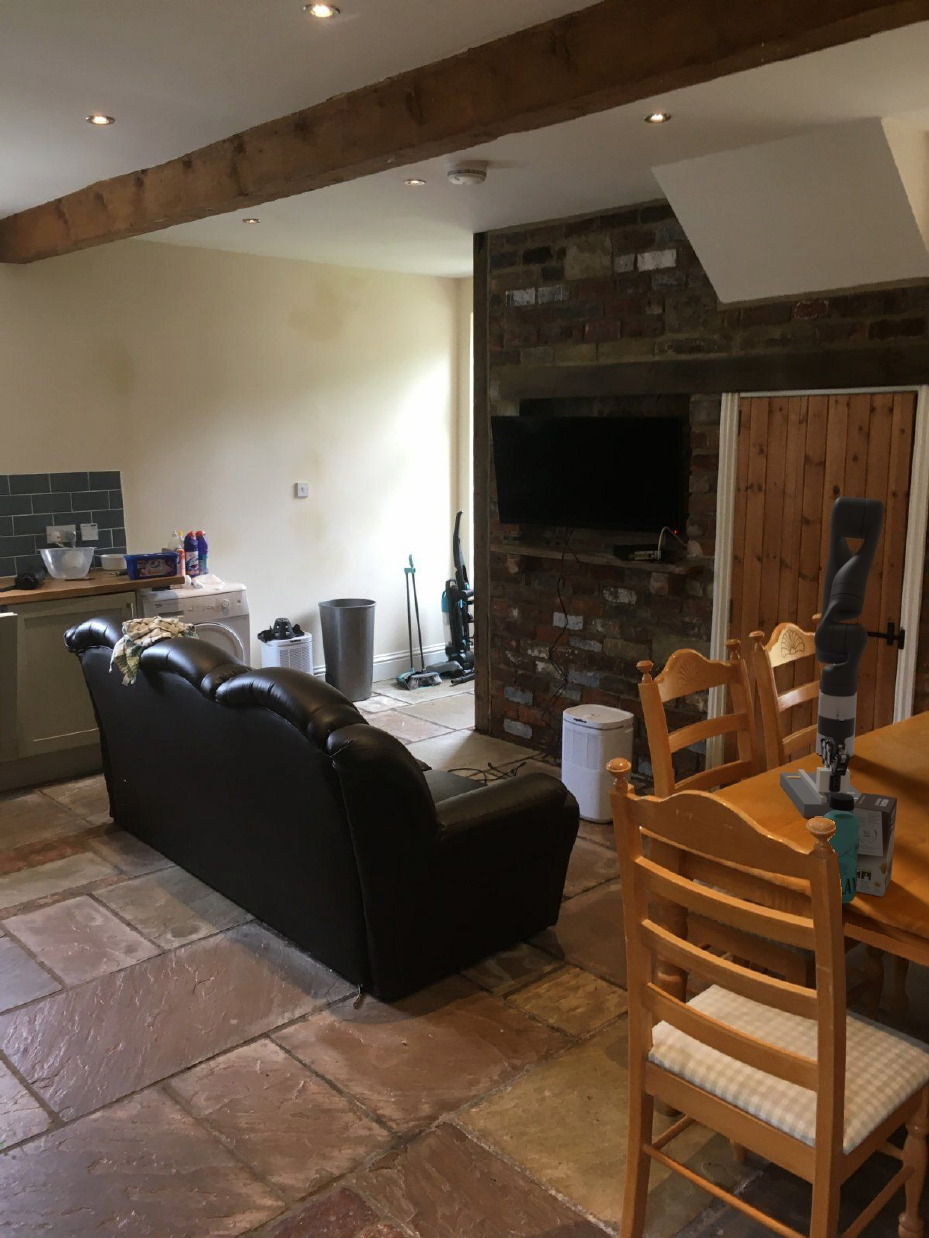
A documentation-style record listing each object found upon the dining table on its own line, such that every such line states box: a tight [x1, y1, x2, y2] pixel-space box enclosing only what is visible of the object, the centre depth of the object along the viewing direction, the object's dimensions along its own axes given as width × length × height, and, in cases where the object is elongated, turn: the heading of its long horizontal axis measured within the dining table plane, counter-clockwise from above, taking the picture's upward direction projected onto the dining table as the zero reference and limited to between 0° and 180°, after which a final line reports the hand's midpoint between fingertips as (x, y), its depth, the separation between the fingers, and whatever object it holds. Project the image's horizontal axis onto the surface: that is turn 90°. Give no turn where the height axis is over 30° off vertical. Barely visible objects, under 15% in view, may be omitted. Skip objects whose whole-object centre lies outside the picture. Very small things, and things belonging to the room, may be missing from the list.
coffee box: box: [853, 792, 898, 897], centre depth 182 cm, size 9×6×16 cm
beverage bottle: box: [821, 793, 860, 904], centre depth 175 cm, size 6×7×20 cm
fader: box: [816, 766, 851, 800], centre depth 219 cm, size 3×6×6 cm, turn 86°
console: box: [779, 768, 862, 818], centre depth 226 cm, size 21×14×4 cm, turn 176°
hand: (832, 788), depth 220 cm, fingers closed on fader, 2 cm apart
